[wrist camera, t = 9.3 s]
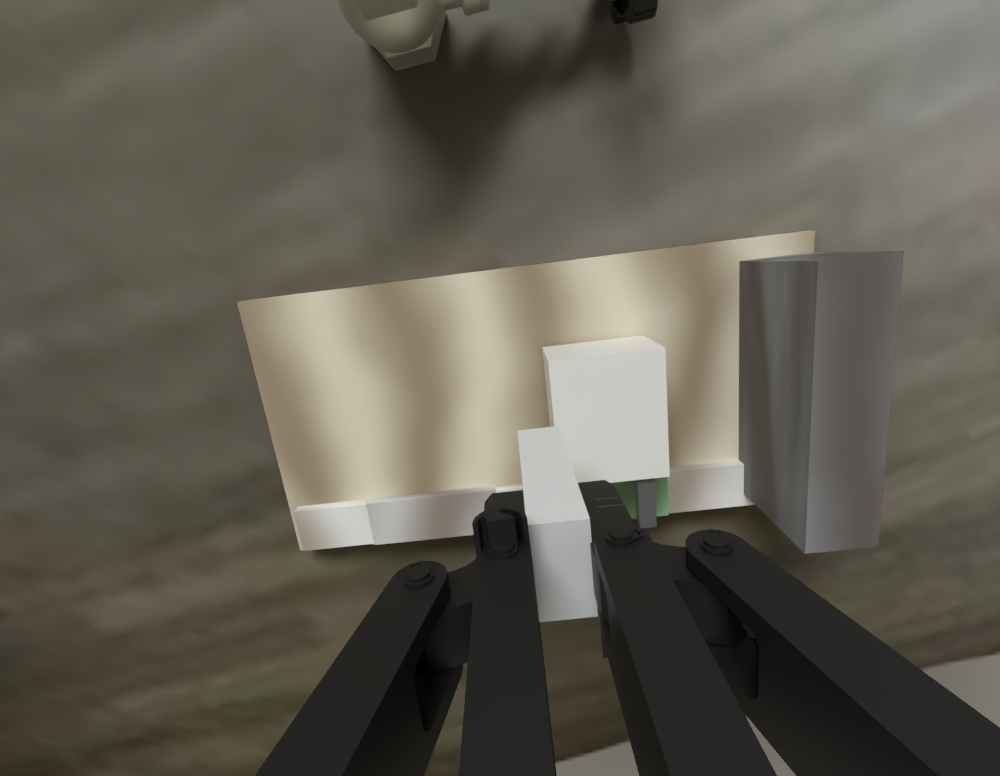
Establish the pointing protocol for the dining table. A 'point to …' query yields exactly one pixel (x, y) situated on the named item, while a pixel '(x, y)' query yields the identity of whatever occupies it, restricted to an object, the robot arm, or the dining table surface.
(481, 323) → the board
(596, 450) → the white rectangular block
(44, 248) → the dining table surface
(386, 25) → the valve
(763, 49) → the dining table surface
